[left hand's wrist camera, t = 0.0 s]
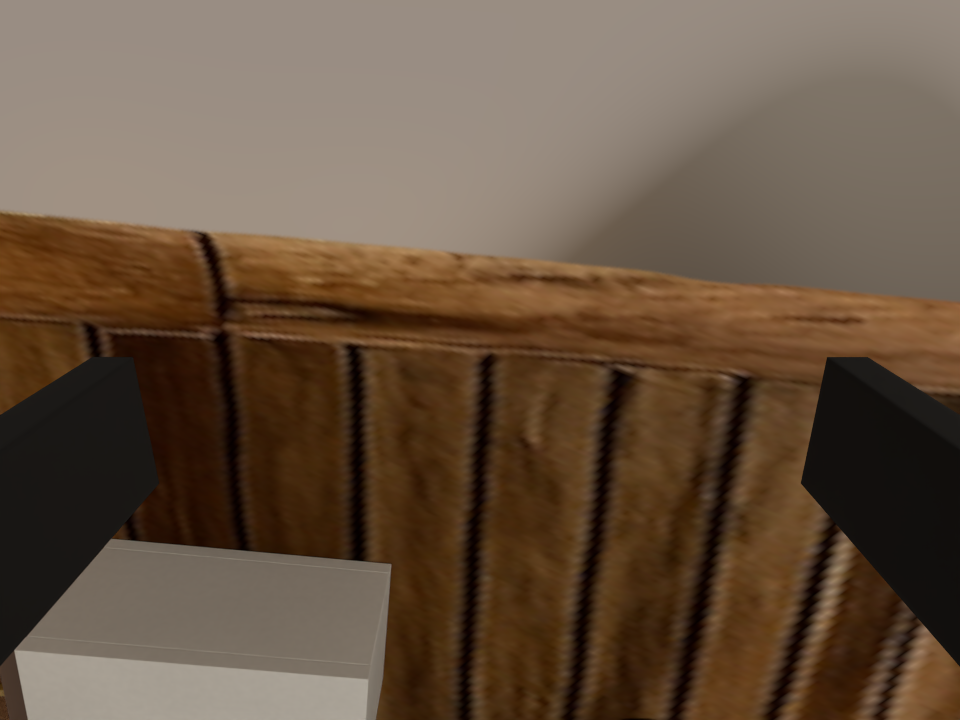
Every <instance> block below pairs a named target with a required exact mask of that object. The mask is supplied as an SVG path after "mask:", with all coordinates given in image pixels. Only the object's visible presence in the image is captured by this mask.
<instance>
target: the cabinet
mask: <svg viewBox="0 0 960 720" xmlns="http://www.w3.org/2000/svg"><path fill="white" fill-rule="evenodd" d="M390 576H391V564H386V563H375V562H363V561H352V560H341V559H330V558H319V557H308V556H297V555H286V554H275V553H264V552H252V551H241V550H230V549H219V548H208V547H197V546H186V545H175V544H164V543H153V542H141V541H130V540H119V539H111V540H110V541H109V542H108V543H107V544H106V545H105V547H104V548H103V549H102V550H101V551H100V553H99V554H98V555H97V556H96V557H95V558H94V559H93V561H92V562H91V563H90V564H89V565H88V566H87V568H86V569H85V570H84V571H83V572H82V573H81V574H80V576H79V577H78V578H77V579H76V580H75V581H74V582H73V584H72V585H71V586H70V587H69V588H68V589H67V591H66V592H65V593H64V594H63V595H62V596H61V597H60V599H59V600H58V601H57V602H56V603H55V604H54V606H53V607H52V608H51V609H50V610H49V611H48V612H47V614H46V615H45V616H44V617H43V618H42V619H41V621H40V622H39V623H38V624H37V625H36V626H35V627H34V629H33V630H32V631H31V632H30V633H29V634H28V636H27V637H25V639H24V640H23V641H22V642H21V643H20V644H19V645H18V647H17V648H16V649H15V650H14V652H15V657H16V662H17V667H18V672H19V677H20V682H21V687H22V692H23V698H24V703H25V708H26V713H27V718H28V720H376V715H377V709H378V703H379V697H380V692H381V686H382V680H383V670H384V657H385V643H386V630H387V616H388V603H389V589H390Z"/></svg>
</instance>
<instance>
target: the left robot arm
mask: <svg viewBox="0 0 960 720" xmlns="http://www.w3.org/2000/svg"><path fill="white" fill-rule="evenodd" d="M158 484H159V480H158V476H157V471H156V466H155V461H154V456H153V452H152V447H151V442H150V437H149V432H148V428H147V423H146V418H145V413H144V409H143V404H142V399H141V394H140V389H139V385H138V380H137V375H136V370H135V365H134V361H133V357H92V358H90V359H89V360H87V361H86V362H84V363H82V364H81V365H79V366H78V367H76V368H74V369H73V370H71V371H70V372H68V373H66V374H65V375H63V376H62V377H60V378H59V379H57V380H55V381H54V382H52V383H51V384H49V385H47V386H46V387H44V388H43V389H41V390H39V391H38V392H36V393H35V394H33V395H31V396H30V397H28V398H27V399H25V400H24V401H22V402H20V403H19V404H17V405H16V406H14V407H12V408H11V409H9V410H8V411H6V412H4V413H3V414H1V415H0V666H1V665H2V664H3V663H4V661H5V660H6V659H7V658H8V657H9V656H10V655H11V653H12V652H13V651H14V650H15V649H16V648H17V646H18V645H19V644H20V643H21V642H22V641H23V640H24V638H25V637H26V636H27V635H28V634H29V633H30V631H31V630H32V629H33V628H34V627H35V626H36V625H37V623H38V622H39V621H40V620H41V619H42V618H43V616H44V615H45V614H46V613H47V612H48V611H49V610H50V608H51V607H52V606H53V605H54V604H55V603H56V602H57V600H58V599H59V598H60V597H61V596H62V595H63V593H64V592H65V591H66V590H67V589H68V588H69V587H70V585H71V584H72V583H73V582H74V581H75V580H76V578H77V577H78V576H79V575H80V574H81V573H82V572H83V570H84V569H85V568H86V567H87V566H88V565H89V563H90V562H91V561H92V560H93V559H94V558H95V557H96V555H97V554H98V553H99V552H100V551H101V550H102V549H103V547H104V546H105V545H106V544H107V543H108V542H109V540H110V539H111V538H112V537H113V536H114V535H115V534H116V532H117V531H118V530H119V529H120V528H121V527H122V525H123V524H124V523H125V522H126V521H127V520H128V519H129V517H130V516H131V515H132V514H133V513H134V512H135V510H136V509H137V508H138V507H139V506H140V505H141V504H142V502H143V501H144V500H145V499H146V498H147V497H148V496H149V494H150V493H151V492H152V491H153V490H154V489H155V487H156V486H157V485H158ZM801 484H802V485H803V486H804V487H805V489H806V490H807V491H808V492H809V493H810V494H811V496H812V497H813V498H814V499H815V500H816V501H817V502H818V504H819V505H820V506H821V507H822V508H823V509H824V510H825V512H826V513H827V514H828V515H829V516H830V517H831V519H832V520H833V521H834V522H835V523H836V524H837V525H838V527H839V528H840V529H841V530H842V531H843V532H844V534H845V535H846V536H847V537H848V538H849V539H850V540H851V542H852V543H853V544H854V545H855V546H856V547H857V549H858V550H859V551H860V552H861V553H862V554H863V555H864V557H865V558H866V559H867V560H868V561H869V562H870V563H871V565H872V566H873V567H874V568H875V569H876V570H877V572H878V573H879V574H880V575H881V576H882V577H883V578H884V580H885V581H886V582H887V583H888V584H889V585H890V587H891V588H892V589H893V590H894V591H895V592H896V593H897V595H898V596H899V597H900V598H901V599H902V600H903V602H904V603H905V604H906V605H907V606H908V607H909V608H910V610H911V611H912V612H913V613H914V614H915V615H916V616H917V618H918V619H919V620H920V621H921V622H922V623H923V625H924V626H925V627H926V628H927V629H928V630H929V631H930V633H931V634H932V635H933V636H934V637H935V638H936V640H937V641H938V642H939V643H940V644H941V645H942V646H943V648H944V649H945V650H946V651H947V652H948V653H949V655H950V656H951V657H952V658H953V659H954V660H955V661H956V663H957V664H958V665H959V666H960V415H959V414H957V413H956V412H954V411H952V410H951V409H949V408H948V407H946V406H944V405H943V404H941V403H940V402H938V401H936V400H935V399H933V398H932V397H930V396H929V395H927V394H925V393H924V392H922V391H921V390H919V389H917V388H916V387H914V386H913V385H911V384H909V383H908V382H906V381H905V380H903V379H901V378H900V377H898V376H897V375H895V374H894V373H892V372H890V371H889V370H887V369H886V368H884V367H882V366H881V365H879V364H878V363H876V362H874V361H873V360H871V359H870V358H868V357H827V361H826V365H825V370H824V375H823V380H822V385H821V389H820V394H819V399H818V404H817V409H816V413H815V418H814V423H813V428H812V432H811V437H810V442H809V447H808V452H807V456H806V461H805V466H804V471H803V476H802V480H801Z"/></svg>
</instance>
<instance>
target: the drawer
mask: <svg viewBox="0 0 960 720" xmlns="http://www.w3.org/2000/svg"><path fill="white" fill-rule="evenodd" d="M92 561H93V560H92ZM92 561H91V562H92ZM91 562H90V563H91ZM90 563H89V564H90ZM86 568H87V567H86ZM86 568H85V569H86ZM85 569H84V570H85ZM84 570H83V571H84ZM79 576H80V575H79ZM79 576H78V577H79ZM78 577H77V578H78ZM77 578H76V579H77ZM72 584H73V583H72ZM72 584H71V585H72ZM71 585H70V586H71ZM66 591H67V590H66ZM66 591H65V592H66ZM65 592H64V593H65ZM64 593H63V594H64ZM59 599H60V598H59ZM59 599H58V600H59ZM58 600H57V601H58ZM53 606H54V605H53ZM53 606H52V607H53ZM52 607H51V608H52ZM51 608H50V609H51ZM46 614H47V613H46ZM46 614H45V615H46ZM45 615H44V616H45ZM44 616H43V617H44ZM40 621H41V620H40ZM40 621H39V622H40ZM39 622H38V623H39ZM38 623H37V624H38ZM33 629H34V628H33ZM33 629H32V630H33ZM32 630H31V631H32ZM31 631H30V632H31ZM27 636H28V635H27ZM27 636H26V637H27ZM24 639H25V638H24ZM17 647H18V646H17ZM0 676H1V681H2V683H0V696H5V700H6V705H7V710H8V714H9V719H10V720H28V718H27V713H26V708H25V703H24V698H23V692H22V687H21V682H20V677H19V672H18V667H17V662H16V657H15V652H14V651H13V652H12V653H11V655H10V656H9V657H8V658H7V659H6V660H5V661H4V663H3V664H2V665H1V666H0Z"/></svg>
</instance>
